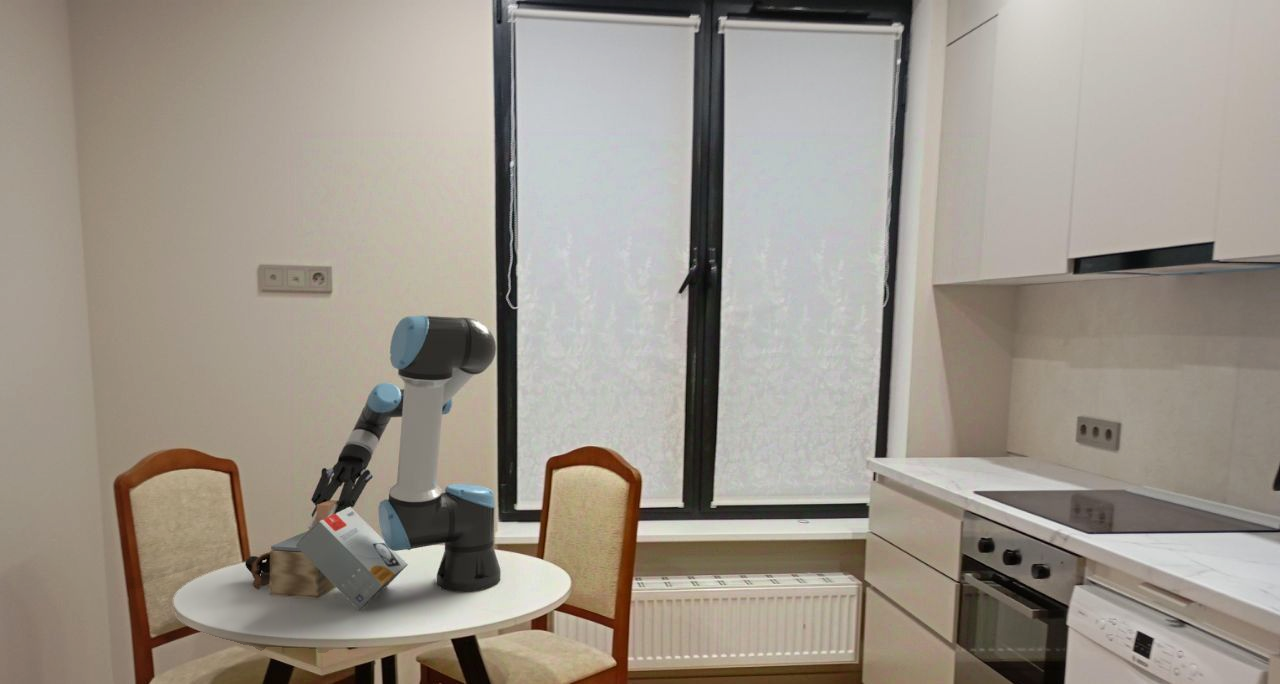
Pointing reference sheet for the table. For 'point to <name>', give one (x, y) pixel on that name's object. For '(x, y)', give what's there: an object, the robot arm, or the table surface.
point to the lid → (291, 543)
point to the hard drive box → (351, 556)
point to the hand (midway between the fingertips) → (318, 530)
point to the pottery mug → (259, 569)
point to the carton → (296, 576)
